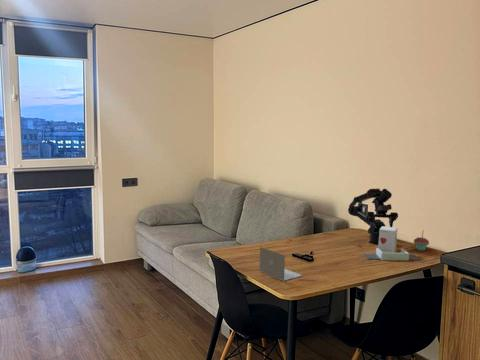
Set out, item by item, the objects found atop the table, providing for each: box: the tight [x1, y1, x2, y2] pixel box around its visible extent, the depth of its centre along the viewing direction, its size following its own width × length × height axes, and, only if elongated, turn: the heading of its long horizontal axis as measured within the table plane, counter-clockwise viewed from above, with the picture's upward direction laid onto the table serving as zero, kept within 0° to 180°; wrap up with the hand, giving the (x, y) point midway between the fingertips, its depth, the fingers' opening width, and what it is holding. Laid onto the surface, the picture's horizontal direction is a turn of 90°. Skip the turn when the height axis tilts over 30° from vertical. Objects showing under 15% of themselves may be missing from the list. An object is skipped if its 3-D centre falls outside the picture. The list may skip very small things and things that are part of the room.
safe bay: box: [363, 247, 422, 262], centre depth 245 cm, size 10×29×4 cm, turn 89°
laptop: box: [258, 246, 303, 282], centre depth 215 cm, size 18×12×13 cm
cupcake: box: [413, 230, 430, 251], centre depth 263 cm, size 9×8×12 cm
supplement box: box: [377, 225, 398, 253], centre depth 253 cm, size 9×9×15 cm
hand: (383, 228), depth 262 cm, fingers open, 9 cm apart
